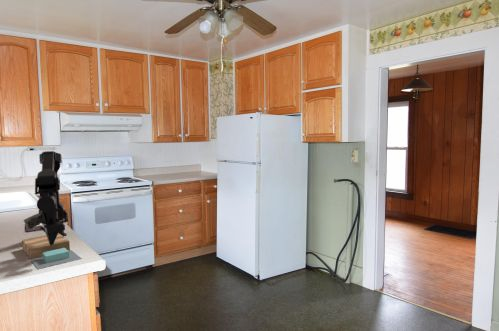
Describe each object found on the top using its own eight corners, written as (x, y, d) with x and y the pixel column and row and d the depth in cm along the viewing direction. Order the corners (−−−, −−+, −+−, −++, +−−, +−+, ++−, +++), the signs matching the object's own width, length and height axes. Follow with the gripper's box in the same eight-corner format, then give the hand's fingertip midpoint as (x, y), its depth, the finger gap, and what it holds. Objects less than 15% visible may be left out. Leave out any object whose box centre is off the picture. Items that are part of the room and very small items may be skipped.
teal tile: (46, 256, 133) (46, 262, 133) (69, 251, 138) (69, 257, 138) (42, 252, 137) (42, 258, 137) (64, 247, 142) (65, 253, 143)
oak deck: (22, 249, 149) (22, 239, 149) (59, 241, 158) (58, 232, 158) (31, 259, 137) (30, 249, 137) (69, 250, 147) (69, 241, 146)
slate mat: (29, 259, 137) (29, 259, 137) (71, 250, 147) (71, 250, 147) (37, 269, 127) (37, 269, 127) (81, 258, 137) (81, 258, 137)
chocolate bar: (26, 231, 173) (25, 223, 188) (26, 233, 174) (25, 225, 189) (47, 228, 178) (44, 220, 193) (47, 230, 178) (45, 222, 193)
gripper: (20, 205, 140) (23, 243, 142) (30, 213, 126) (33, 256, 128) (51, 201, 148) (53, 238, 149) (64, 208, 134) (66, 248, 135)
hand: (51, 244), depth 140 cm, fingers closed
